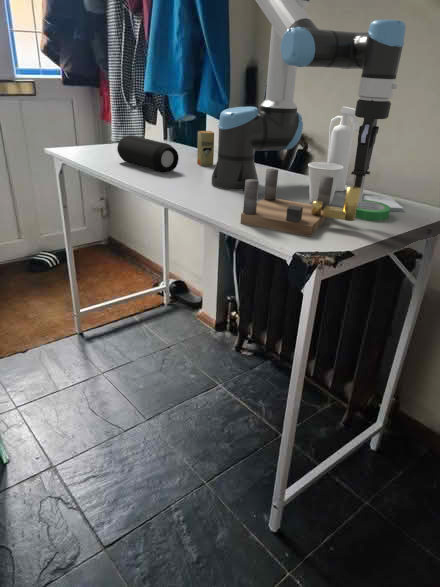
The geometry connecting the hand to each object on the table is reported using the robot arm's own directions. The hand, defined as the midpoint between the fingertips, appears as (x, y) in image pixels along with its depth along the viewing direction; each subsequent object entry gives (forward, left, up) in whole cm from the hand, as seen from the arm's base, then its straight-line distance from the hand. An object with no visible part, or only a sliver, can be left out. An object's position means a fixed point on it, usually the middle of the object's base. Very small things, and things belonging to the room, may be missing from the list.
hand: (355, 200), depth 113 cm
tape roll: (-11, +2, -6) cm, 13 cm away
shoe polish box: (-41, -64, -6) cm, 76 cm away
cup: (-13, -12, -6) cm, 19 cm away
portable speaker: (-24, -79, -6) cm, 82 cm away
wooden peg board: (+7, -16, -6) cm, 18 cm away
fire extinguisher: (-33, -13, -6) cm, 36 cm away
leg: (+6, -4, -3) cm, 8 cm away
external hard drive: (-23, +5, -7) cm, 25 cm away
